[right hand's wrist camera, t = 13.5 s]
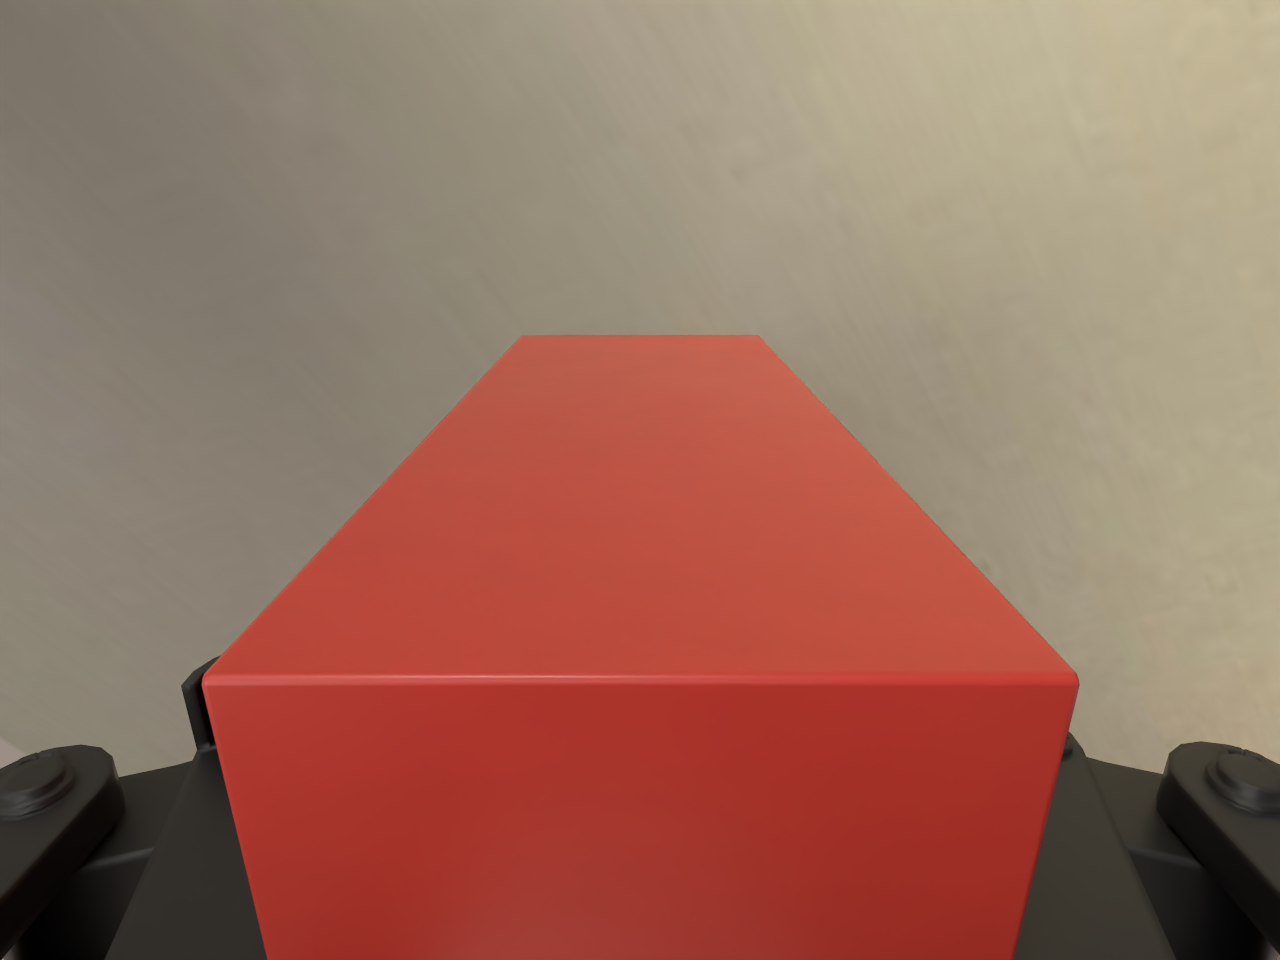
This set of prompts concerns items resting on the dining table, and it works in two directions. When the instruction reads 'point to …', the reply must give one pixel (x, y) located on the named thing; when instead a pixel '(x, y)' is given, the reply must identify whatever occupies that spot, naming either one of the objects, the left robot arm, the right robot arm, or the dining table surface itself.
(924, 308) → the dining table surface
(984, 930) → the brick
